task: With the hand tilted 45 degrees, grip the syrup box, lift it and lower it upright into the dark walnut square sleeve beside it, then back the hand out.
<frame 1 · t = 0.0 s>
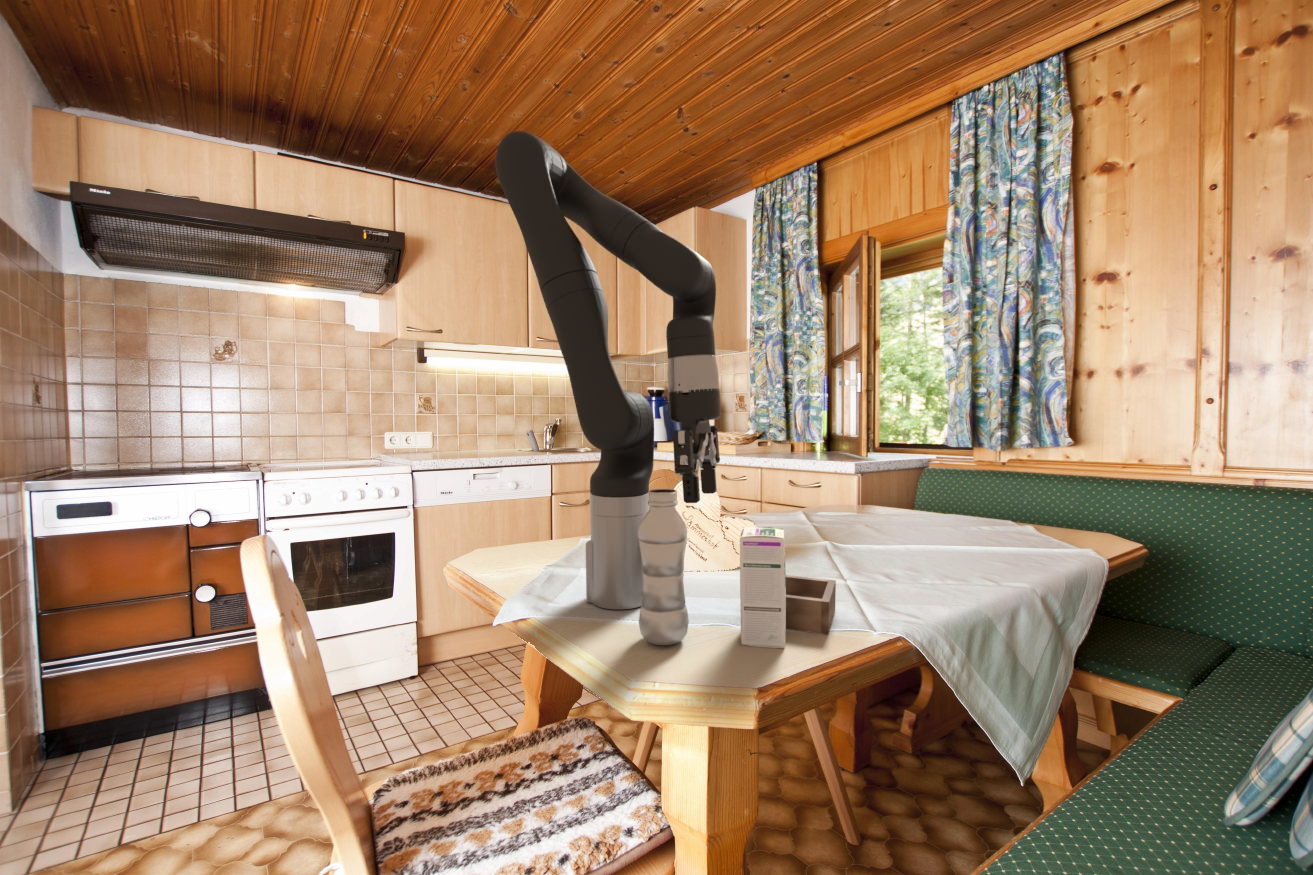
hand: (701, 497, 86), 17 cm above the table, tool pointing down, fingers open, 8 cm apart
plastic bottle: (663, 642, 77), on the table
walnut sleeve: (796, 616, 85), on the table
syrup box: (762, 639, 77), on the table
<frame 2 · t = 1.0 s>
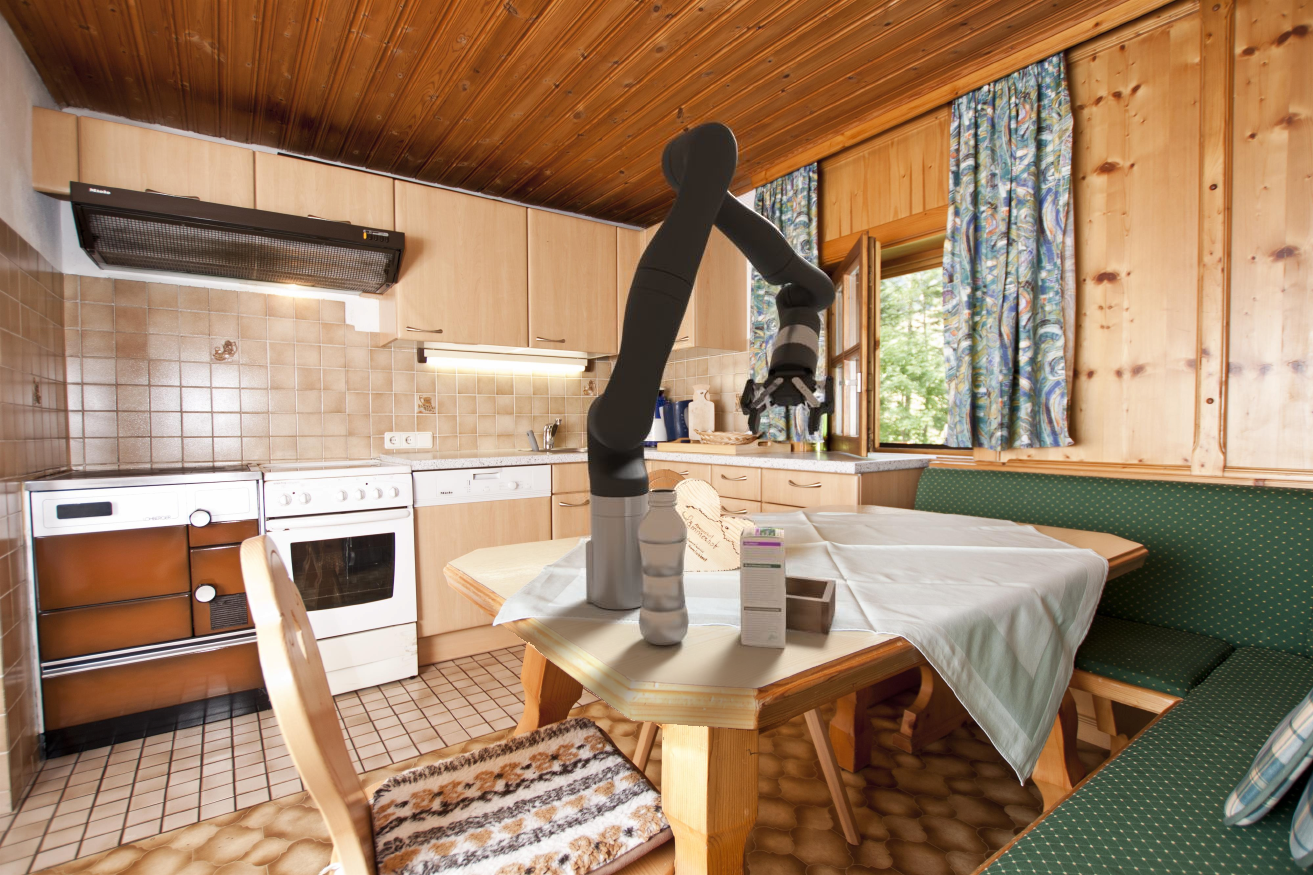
hand: (781, 431, 87), 27 cm above the table, tool tilted 45°, fingers open, 8 cm apart
nothing on the table moved.
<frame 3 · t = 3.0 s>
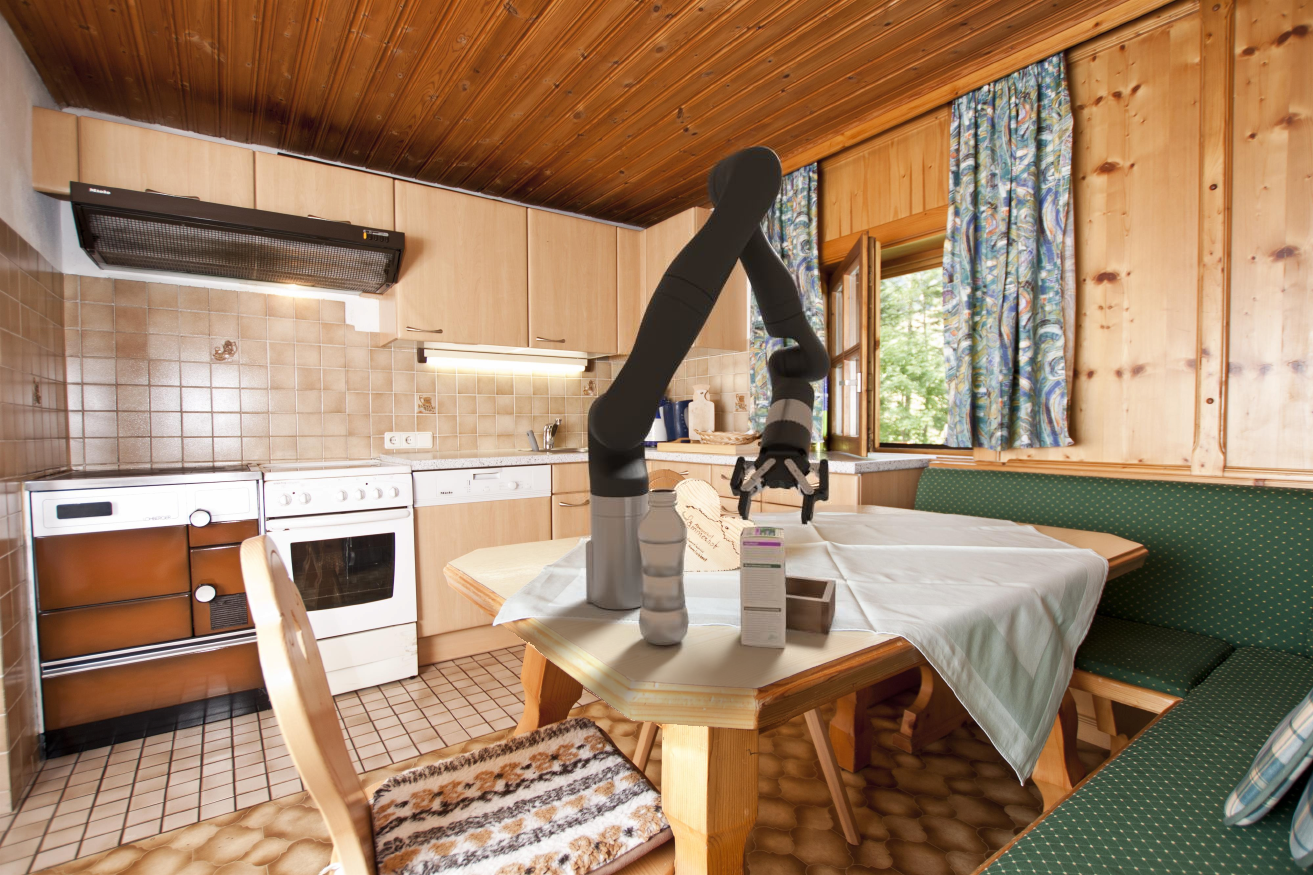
hand: (773, 519, 83), 15 cm above the table, tool tilted 45°, fingers open, 8 cm apart
nothing on the table moved.
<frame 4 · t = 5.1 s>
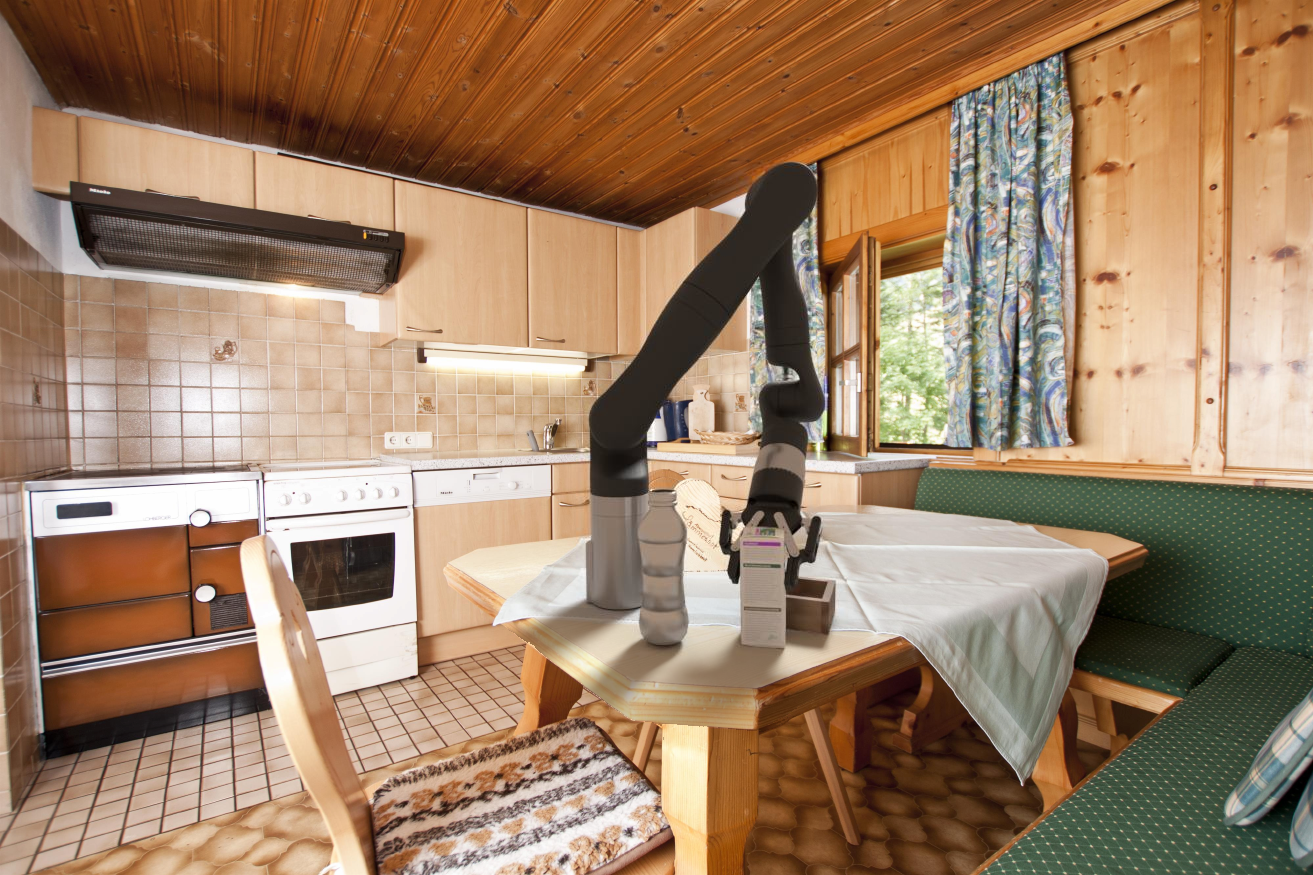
hand: (760, 583, 75), 8 cm above the table, tool tilted 45°, fingers closed on syrup box, 6 cm apart
syrup box: (762, 639, 77), on the table, touching gripper
everything else where it was.
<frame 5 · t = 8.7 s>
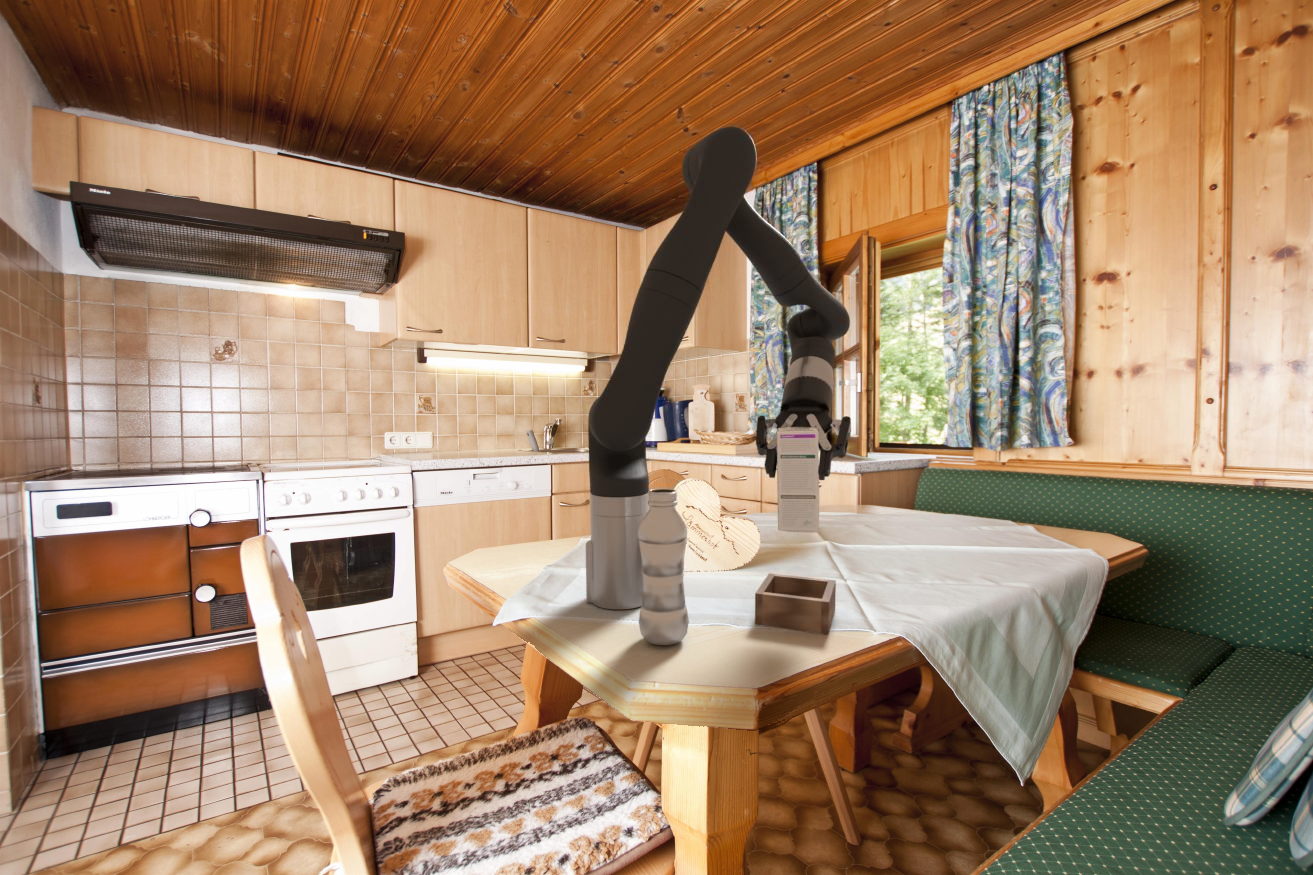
hand: (796, 475, 82), 21 cm above the table, tool tilted 45°, fingers closed on syrup box, 6 cm apart
syrup box: (797, 529, 84), point 13 cm above the table, touching gripper
everything else where it was.
when the fingers open (9 cm above the table, at t = 11.9 s): syrup box drops 1 cm, resting in walnut sleeve.
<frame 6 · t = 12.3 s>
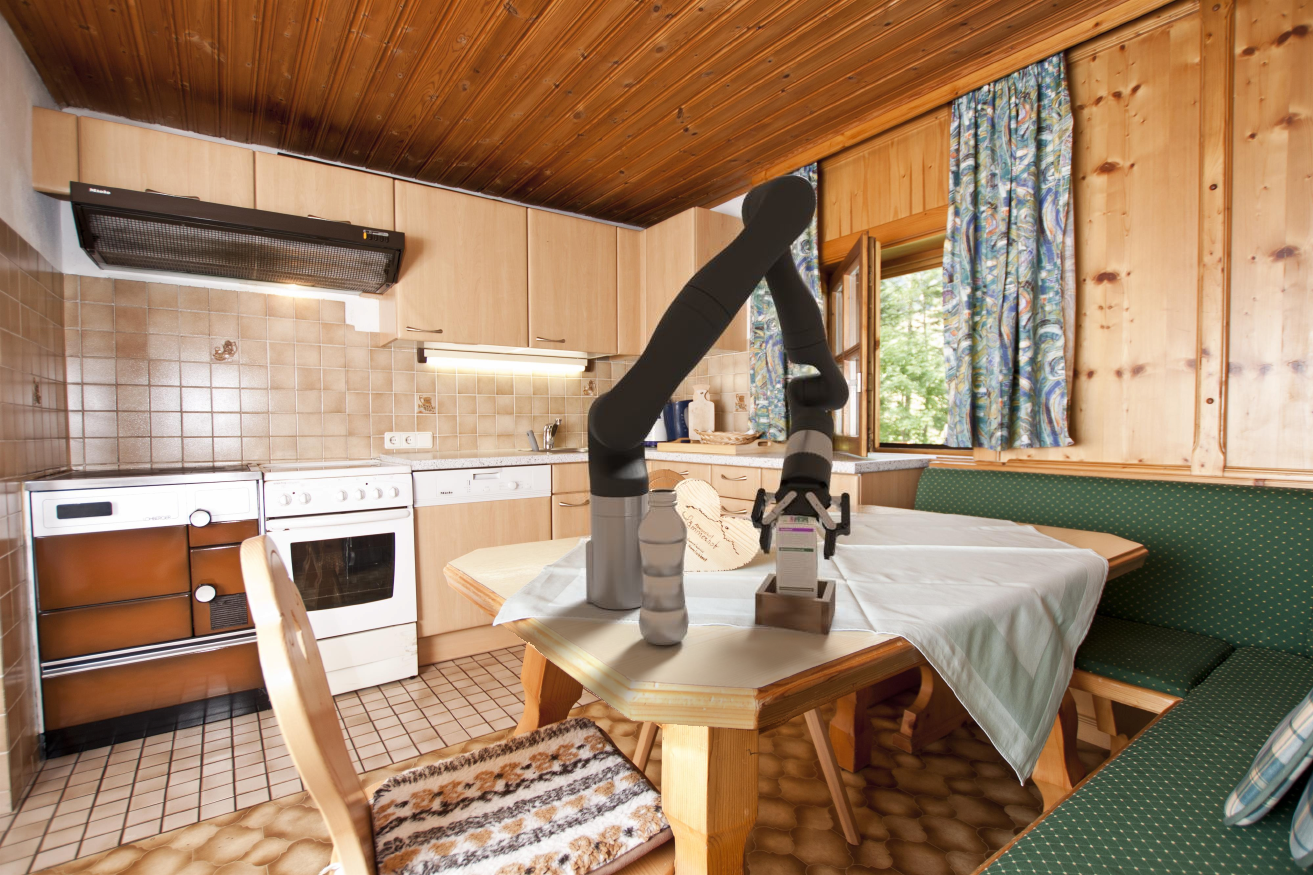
hand: (795, 553, 83), 10 cm above the table, tool tilted 45°, fingers open, 8 cm apart
syrup box: (796, 617, 85), resting in walnut sleeve
everything else where it was.
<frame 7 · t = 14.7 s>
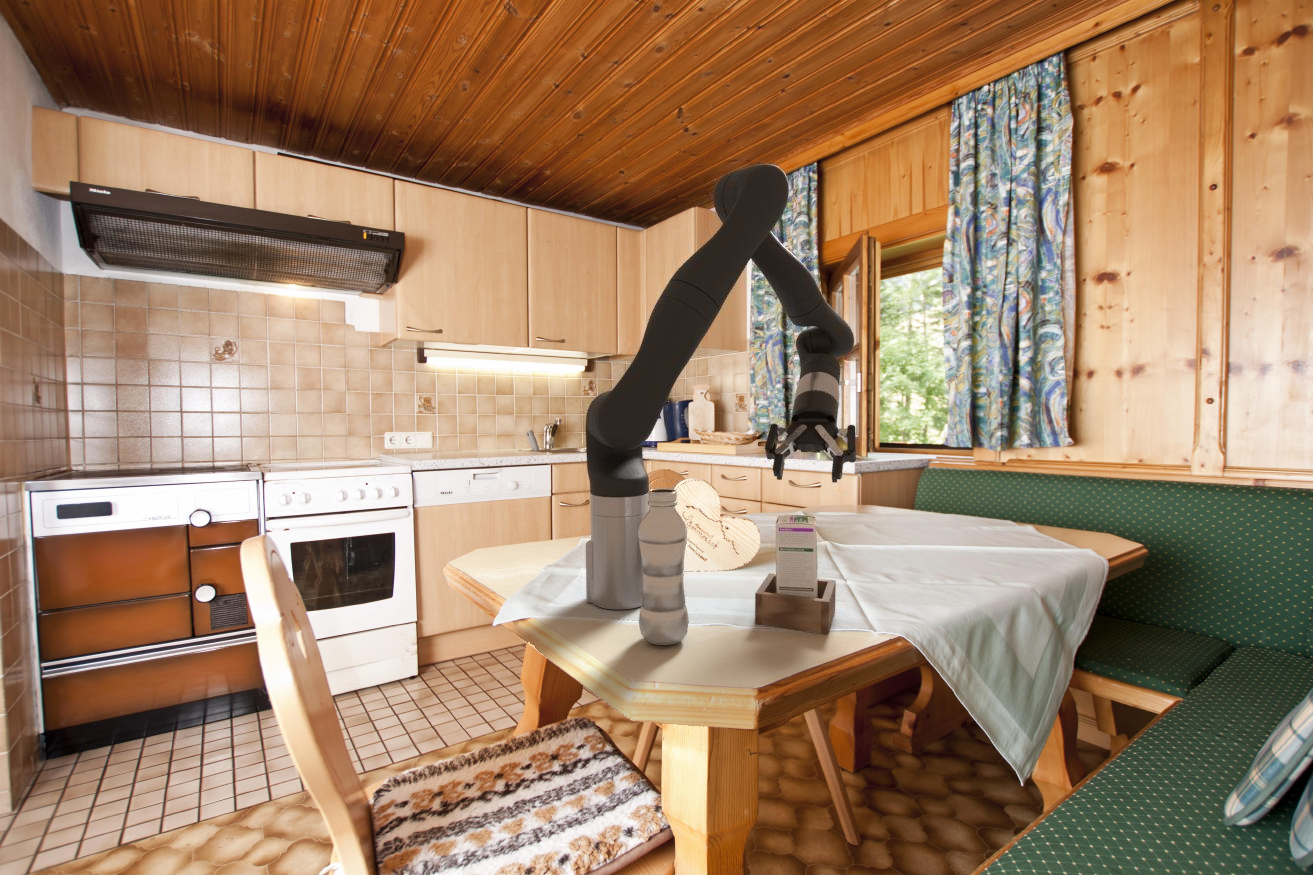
hand: (806, 478, 91), 19 cm above the table, tool tilted 45°, fingers open, 8 cm apart
nothing on the table moved.
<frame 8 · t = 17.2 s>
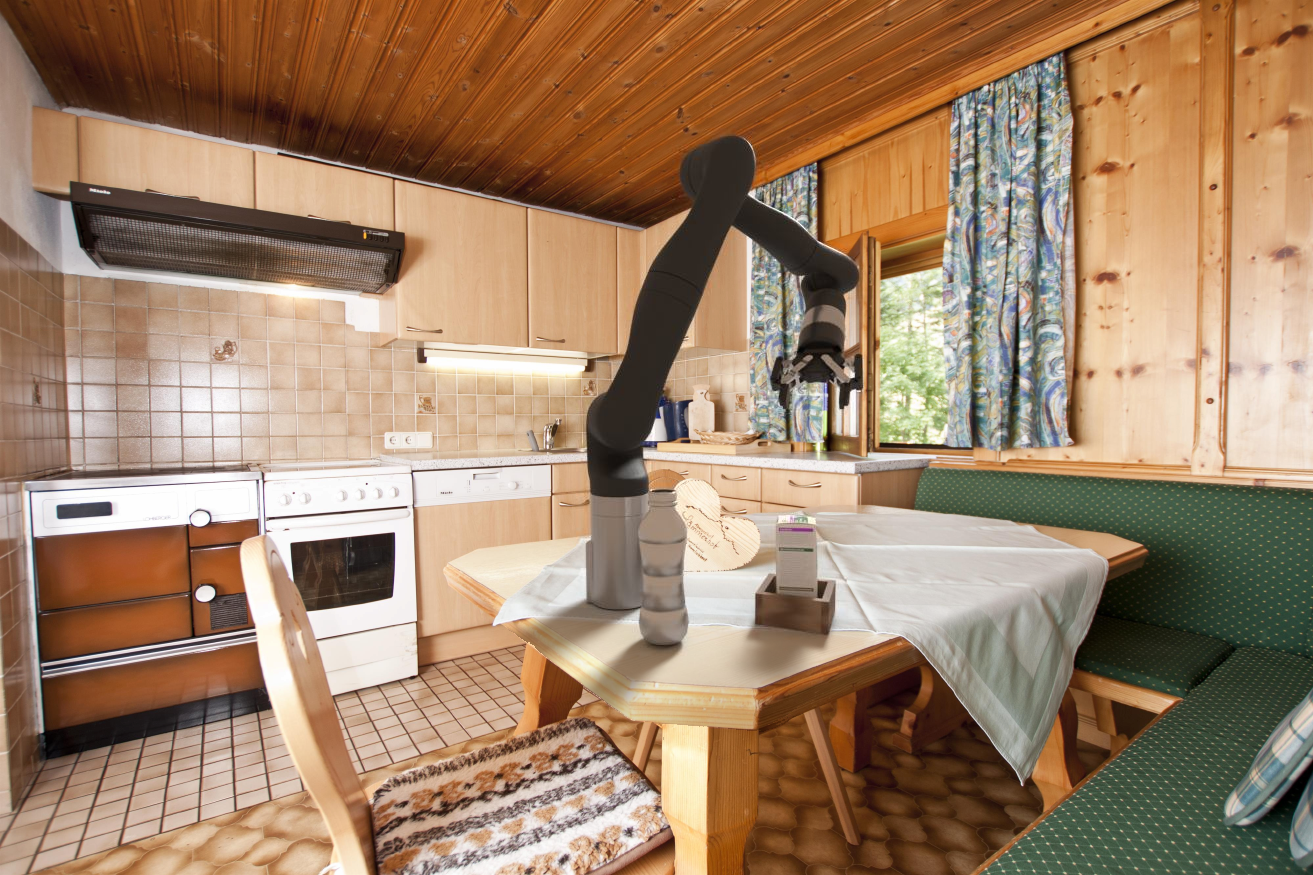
hand: (812, 405, 89), 31 cm above the table, tool tilted 45°, fingers open, 8 cm apart
nothing on the table moved.
at the end: syrup box 0.2 cm off-centre on the walnut sleeve, point 0.0 cm above the walnut sleeve's base; syrup box tilted 0°; the gripper is holding nothing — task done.
